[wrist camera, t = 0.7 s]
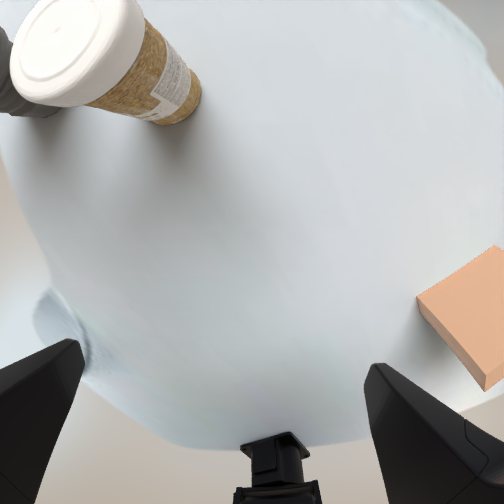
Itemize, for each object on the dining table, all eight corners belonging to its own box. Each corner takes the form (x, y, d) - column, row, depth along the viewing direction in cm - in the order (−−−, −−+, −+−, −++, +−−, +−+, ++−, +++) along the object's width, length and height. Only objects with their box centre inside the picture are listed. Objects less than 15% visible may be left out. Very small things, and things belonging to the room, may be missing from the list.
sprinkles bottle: (132, 119, 18) (-10, 101, 6) (151, 60, 17) (37, -20, 4) (191, 132, 19) (89, 110, 6) (212, 71, 17) (150, -35, 5)
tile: (495, 262, 22) (569, 313, 12) (420, 313, 23) (484, 392, 13) (493, 244, 21) (572, 293, 11) (416, 296, 23) (485, 375, 13)
